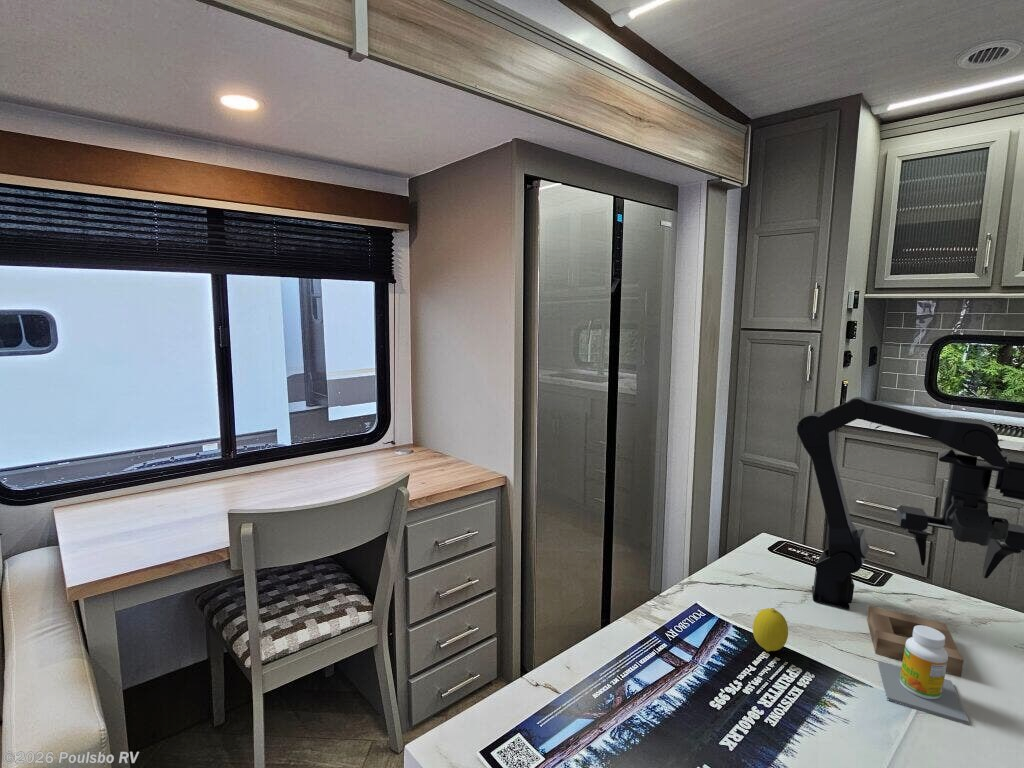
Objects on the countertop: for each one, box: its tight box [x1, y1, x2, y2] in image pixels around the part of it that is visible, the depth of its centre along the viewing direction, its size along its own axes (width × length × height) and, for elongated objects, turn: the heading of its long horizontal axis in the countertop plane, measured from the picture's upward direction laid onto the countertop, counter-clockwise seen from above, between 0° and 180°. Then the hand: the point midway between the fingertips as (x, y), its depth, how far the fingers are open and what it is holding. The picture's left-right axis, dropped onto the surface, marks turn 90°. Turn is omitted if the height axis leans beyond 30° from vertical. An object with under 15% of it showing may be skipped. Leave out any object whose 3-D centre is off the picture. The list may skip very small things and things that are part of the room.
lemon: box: [752, 607, 789, 653], centre depth 95 cm, size 6×6×8 cm
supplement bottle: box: [900, 625, 948, 699], centre depth 86 cm, size 5×5×10 cm
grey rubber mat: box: [877, 660, 970, 725], centre depth 87 cm, size 10×10×1 cm
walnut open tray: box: [866, 605, 965, 677], centre depth 98 cm, size 12×12×3 cm
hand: (952, 570), depth 100 cm, fingers open, 9 cm apart
